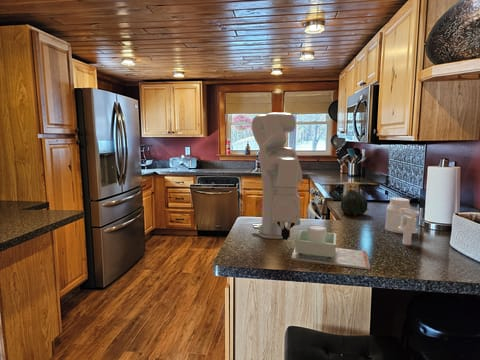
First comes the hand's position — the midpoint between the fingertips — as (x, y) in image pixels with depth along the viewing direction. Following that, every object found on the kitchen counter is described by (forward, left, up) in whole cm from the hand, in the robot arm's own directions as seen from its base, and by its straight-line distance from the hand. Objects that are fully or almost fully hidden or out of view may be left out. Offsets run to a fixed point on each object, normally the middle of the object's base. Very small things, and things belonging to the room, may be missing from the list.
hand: (285, 238), depth 119 cm
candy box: (+26, +99, -5) cm, 103 cm away
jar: (+46, +48, -5) cm, 67 cm away
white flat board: (+16, 0, -5) cm, 17 cm away
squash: (+27, +74, -5) cm, 79 cm away
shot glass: (+11, 0, -2) cm, 12 cm away
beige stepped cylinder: (+46, +26, -5) cm, 54 cm away
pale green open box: (+11, 0, -4) cm, 12 cm away
